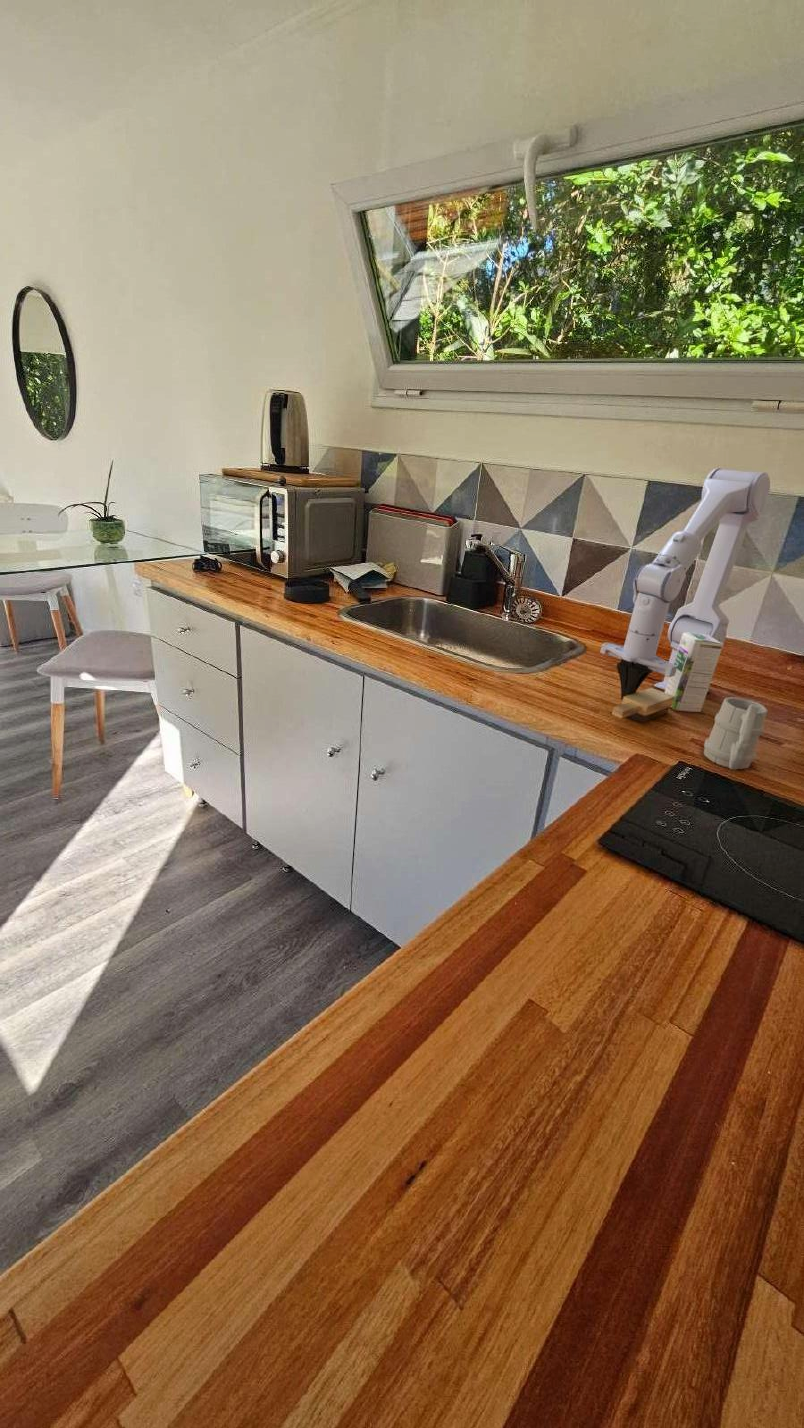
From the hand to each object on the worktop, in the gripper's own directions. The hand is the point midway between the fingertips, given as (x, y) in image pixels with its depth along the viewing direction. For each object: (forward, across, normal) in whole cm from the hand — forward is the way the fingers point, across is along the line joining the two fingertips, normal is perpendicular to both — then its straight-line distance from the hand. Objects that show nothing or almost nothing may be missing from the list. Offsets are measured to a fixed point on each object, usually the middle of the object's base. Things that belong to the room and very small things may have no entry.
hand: (626, 699), depth 115 cm
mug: (+2, +22, -5) cm, 23 cm away
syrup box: (+2, +5, +12) cm, 14 cm away
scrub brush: (+2, +4, -1) cm, 4 cm away
